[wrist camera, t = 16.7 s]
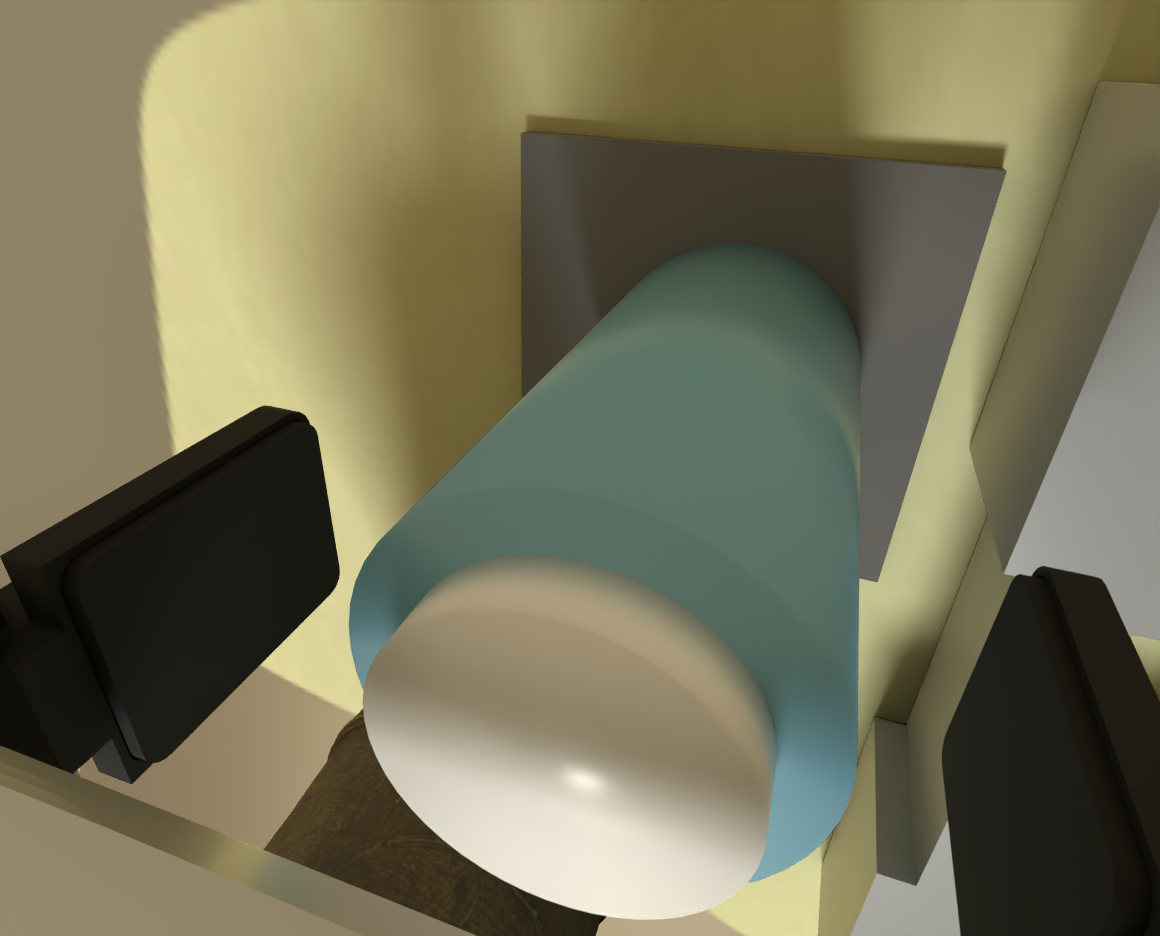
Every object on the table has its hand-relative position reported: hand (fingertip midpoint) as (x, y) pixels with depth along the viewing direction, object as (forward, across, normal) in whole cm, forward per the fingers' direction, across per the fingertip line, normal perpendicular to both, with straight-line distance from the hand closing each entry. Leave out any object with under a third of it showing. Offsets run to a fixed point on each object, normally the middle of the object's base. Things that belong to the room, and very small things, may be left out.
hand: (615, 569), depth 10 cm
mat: (+8, 0, 0) cm, 8 cm away
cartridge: (+7, 0, 0) cm, 7 cm away
